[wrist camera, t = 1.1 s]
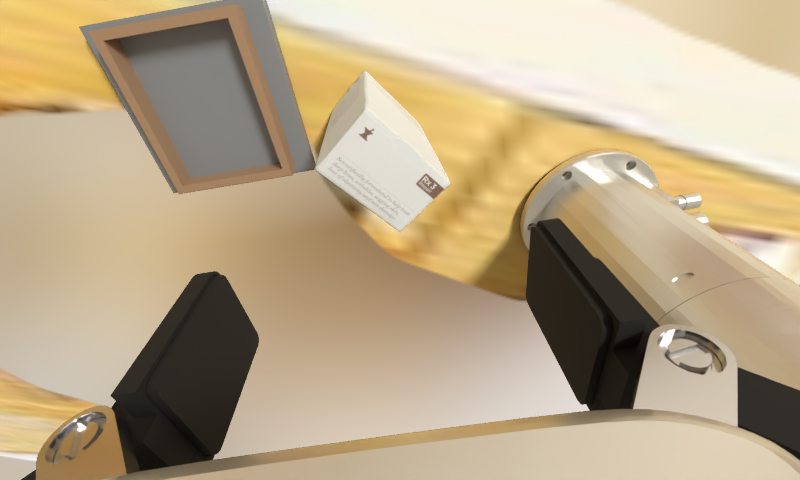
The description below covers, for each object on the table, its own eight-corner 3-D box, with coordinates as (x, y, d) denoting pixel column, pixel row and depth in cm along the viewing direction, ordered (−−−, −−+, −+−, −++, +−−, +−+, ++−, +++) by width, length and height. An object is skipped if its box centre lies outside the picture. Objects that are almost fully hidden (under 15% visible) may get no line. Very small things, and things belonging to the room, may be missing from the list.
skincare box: (329, 112, 27) (303, 172, 17) (366, 65, 26) (361, 101, 15) (388, 162, 30) (395, 240, 20) (425, 122, 28) (454, 184, 18)
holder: (264, -6, 23) (253, -8, 21) (315, 165, 29) (311, 176, 27) (89, 26, 23) (61, 27, 21) (179, 187, 30) (164, 201, 28)
